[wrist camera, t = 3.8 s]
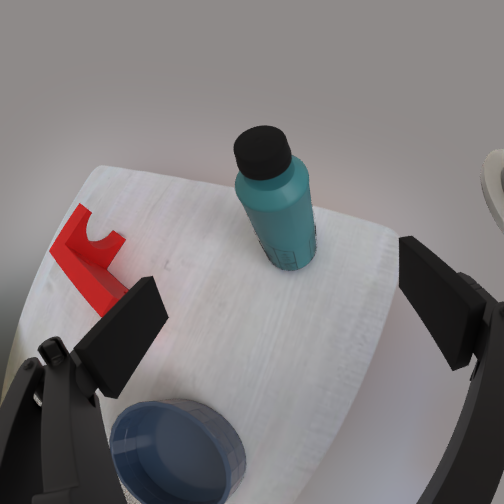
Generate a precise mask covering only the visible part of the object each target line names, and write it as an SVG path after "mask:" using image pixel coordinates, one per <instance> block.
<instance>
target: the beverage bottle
mask: <svg viewBox="0 0 504 504" xmlns="http://www.w3.org/2000/svg"><path fill="white" fill-rule="evenodd" d="M234 154H235V157H236V162H237V166H238V168H239V170H240V171H239V173H238V174H237V177H236V181H235V191H236V194H237V197H238V198H239V200H240V201H241V203H242V205H243V207H244V209H245V211H246V213H247V215H248V216H247V217H249V219H250V221H251V223H252V226H253V228H254V230H255V232H256V234H257V236H258V238H259V239H260V241H261V243H262V245H263V247H262V248H264V249H263V250H264V251H265V253H266V255H267V256H268V258H269V260H270V261H271V262H272V263H271V264H273V265H275V266H277V267H278V268H280V269H284V270H286V271H293V270H298V269H300V268H303V267H304V266H306V265H307V264H308V263H309V262H310V261H311V260H312V258H313V256H314V255H315V250H316V248H317V247H316V240H315V234H316V226H315V225H314V219H313V212H314V211H312V206H313V205H312V204H311V196H310V188H309V174H308V170H307V168H306V166H305V165H304V163H303V162H302V161H301V160H300V159H298V158H297V157H295V156H293V155H291V150H290V147H289V145H288V142H287V139H286V136H285V135H284V133H283V132H282V131H281V130H280V129H278V128H276V127H273V126H257V127H253V128H251V129H248V130H247V131H245V132H243V133H242V134H241V135H240V136H239V137H238V138H237V139H236V141H235V143H234ZM249 219H248V220H249ZM249 223H250V222H249ZM314 226H315V227H314ZM314 228H315V229H314ZM255 232H254V233H255ZM316 239H317V238H316ZM258 241H259V240H258ZM260 241H259V242H260ZM261 243H260V244H261ZM262 245H261V246H262ZM316 251H317V250H316Z"/></svg>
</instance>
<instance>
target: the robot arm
mask: <svg viewBox="0 0 504 504" xmlns="http://www.w3.org/2000/svg"><path fill="white" fill-rule="evenodd" d="M501 185H502V189H503V192H504V168H503V169H502V172H501ZM399 288H400V289H401V290H402V292H403V293H404V295H405V296H406V297H407V299H408V300H409V302H410V303H411V305H412V306H413V308H414V309H415V311H416V312H417V313H418V315H419V317H420V318H421V320H422V321H423V323H424V324H425V326H426V327H427V329H428V330H429V332H430V334H431V335H432V337H433V338H434V340H435V342H436V343H437V345H438V347H439V348H440V350H441V352H442V353H443V355H444V357H445V359H446V360H447V362H448V364H449V366H450V367H451V369H452V371H454V370H457V369H459V368H462V367H465V366H467V365H469V362H470V360H471V357H472V354H473V353H474V355H475V356H476V358H477V362H476V365H475V368H474V370H473V373H472V375H471V378H470V381H471V383H470V387H469V390H468V394H467V397H466V400H465V403H464V406H463V409H462V411H461V414H460V417H459V420H458V422H457V425H456V427H455V430H454V432H453V435H452V437H451V440H450V442H449V444H448V446H447V449H446V451H445V453H444V455H443V457H442V459H441V461H440V463H439V465H438V467H437V469H436V471H435V473H434V475H433V476H432V478H431V480H430V482H429V484H428V485H427V487H426V489H425V491H424V492H423V494H422V496H421V497H420V499H419V500H418V502H417V503H416V504H491V502H492V499H493V497H494V495H495V492H496V490H497V487H498V484H499V482H500V479H501V476H502V474H503V470H504V302H499V303H498V302H497V301H496V300H495V299H494V298H493V297H492V296H491V295H490V294H489V293H488V292H487V291H486V290H485V289H484V288H482V287H481V286H480V285H479V284H477V282H476V281H475V280H474V279H472V278H471V277H470V276H468V275H466V274H464V273H461V272H460V273H456V272H455V271H454V270H453V269H452V268H451V267H449V266H448V265H447V264H446V263H445V262H444V261H442V260H441V259H440V258H439V257H438V256H437V255H435V254H434V253H433V252H432V251H431V250H429V249H428V248H427V247H426V246H424V245H423V244H422V243H420V242H419V241H418V240H417V239H415V238H414V237H413V236H407V237H401V238H399ZM168 318H169V317H168V315H167V312H166V310H165V307H164V304H163V302H162V299H161V297H160V294H159V291H158V289H157V286H156V283H155V280H154V278H153V276H150V277H143V278H141V279H140V280H139V281H138V282H137V283H136V284H135V285H134V286H133V287H132V288H131V289H130V290H129V291H128V292H127V293H126V294H125V295H124V296H123V297H122V298H121V299H120V300H119V301H118V302H117V303H116V304H115V305H114V306H113V307H112V308H111V309H110V310H109V311H108V312H107V313H106V314H105V315H104V316H103V317H102V318H101V319H100V320H99V321H98V322H97V323H96V324H95V326H94V327H93V328H92V329H91V330H90V331H89V332H88V333H87V334H86V335H85V336H84V337H83V338H82V339H81V341H80V342H79V343H78V344H77V345H76V346H75V347H74V348H73V349H74V350H73V351H72V352H71V353H70V354H69V352H68V350H67V349H66V347H65V345H64V344H63V342H62V340H61V338H60V337H58V336H57V337H52V338H49V339H47V340H46V341H44V342H43V343H42V344H41V345H40V346H39V347H38V351H39V353H40V355H41V356H42V358H43V360H44V361H45V363H46V364H47V365H44V366H42V364H41V363H40V361H39V359H38V358H36V357H32V358H28V359H27V360H25V361H24V363H23V364H22V365H21V366H20V368H19V370H18V372H17V374H16V376H15V378H14V380H13V382H12V384H11V386H10V388H9V390H8V392H7V394H6V396H5V399H4V401H3V403H2V405H1V408H0V504H127V501H126V499H125V496H124V493H123V490H122V488H121V485H120V482H119V479H118V476H117V473H116V469H115V466H114V463H113V459H112V456H111V452H110V449H109V445H108V441H107V437H106V433H105V428H104V424H103V419H102V414H101V409H100V403H99V398H98V396H97V395H96V393H95V391H96V389H97V388H99V389H100V391H101V392H102V394H103V395H104V396H105V397H109V398H115V399H117V398H118V397H119V395H120V393H121V392H122V390H123V389H124V387H125V385H126V384H127V382H128V380H129V379H130V377H131V376H132V374H133V372H134V371H135V369H136V368H137V366H138V364H139V363H140V361H141V360H142V358H143V357H144V355H145V353H146V352H147V350H148V349H149V347H150V346H151V344H152V343H153V341H154V339H155V338H156V336H157V335H158V333H159V332H160V330H161V329H162V327H163V326H164V324H165V323H166V321H167V319H168ZM34 393H35V395H36V396H37V397H38V399H39V400H40V401H41V402H42V405H41V407H40V406H39V405H38V404H37V402H36V401H35V400H34V399H33V396H34Z"/></svg>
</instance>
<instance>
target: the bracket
mask: <svg viewBox="0 0 504 504" xmlns="http://www.w3.org/2000/svg"><path fill="white" fill-rule="evenodd" d="M91 214H92V212H90V211H89V210H88V209H87V208H85V207H84V206H83V205H82V204H80V203H79V205H78V206H77V208H76V209H75V211H74V212H73V214H72V215H71V216H70V218H69V220H68V221H67V223H66V224H65V226H64V227H63V229H62V230H61V232H60V234H59V235H58V237H57V238H56V240H55V242H54V243H53V245H52V247H51V248H50V250H49V252H50V253H51V255H52V256H53V257H54V259H55V260H56V262H57V263H58V264H59V266H60V267H61V268H62V270H63V271H64V273H65V274H66V275H67V276H68V278H69V279H70V280H71V282H72V283H73V284H74V285H75V287H76V288H77V289H78V290H79V292H80V293H81V294H82V295H83V297H84V298H85V299H86V300H87V301H88V303H89V304H90V305H91V306H92V307H93V308H94V310H95V311H96V312H97V313H98V314H99V315H100V316H101V317H103V316H104V315H105V314H106V313H107V312H108V311H109V310H110V309H111V308H112V307H113V306H114V305H115V304H116V303H117V302H118V301H119V300H120V299H121V298H122V297H123V296H124V295H125V294H126V293H127V292H128V291H129V290H128V289H127V288H126V287H125V286H123V285H122V284H121V283H120V282H119V281H118V280H117V279H116V278H115V277H114V276H113V275H112V274H110V273H109V272H108V271H107V270H106V269H107V268H108V266H109V264H110V263H111V261H112V260H113V258H114V257H115V255H116V254H117V252H118V251H119V249H120V248H121V246H122V245H123V243H124V242H125V240H126V239H124V238H123V237H122V236H120V235H119V234H118V233H116V232H115V231H114V230H113V231H112V232H111V233H110V234H109V235H108V236H107V237H106V238H104V239H102V240H99V241H89V240H88V238H87V234H86V227H87V223H88V220H89V217H90V215H91Z"/></svg>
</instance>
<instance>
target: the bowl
mask: <svg viewBox="0 0 504 504" xmlns="http://www.w3.org/2000/svg"><path fill="white" fill-rule="evenodd" d="M109 443H110V452H111V456H112V459H113V463H114V466H115V469H116V473H117V475H118V476H119V478H120V480H121V482H122V483H123V485H124V486H125V487H126V488H127V490H128V491H129V492H130V493H131V494H132V495H133V496H134V497H135V498H136V499H137V500H138V501H140V502H141V503H142V504H224V503H225V502H226V501H227V500H228V499H229V498H230V496H231V495H232V494H233V493H234V492H235V490H236V489H237V488H238V487H239V485H240V483H241V482H242V479H243V477H244V474H245V469H246V456H245V451H244V448H243V445H242V442H241V440H240V438H239V436H238V434H237V433H236V431H235V430H234V428H233V427H232V426H231V425H230V424H229V423H228V421H226V420H225V419H224V418H223V417H222V416H221V415H220V414H218V413H217V412H216V411H214V410H213V409H211V408H209V407H208V406H205V405H203V404H201V403H198V402H195V401H192V400H187V399H168V400H159V401H149V402H139V403H137V404H135V405H132V406H130V407H128V408H126V409H125V410H124V411H123V412H122V413H121V414H120V415H119V416H118V417H117V419H116V421H115V423H114V424H113V426H112V430H111V435H110V439H109Z"/></svg>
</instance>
